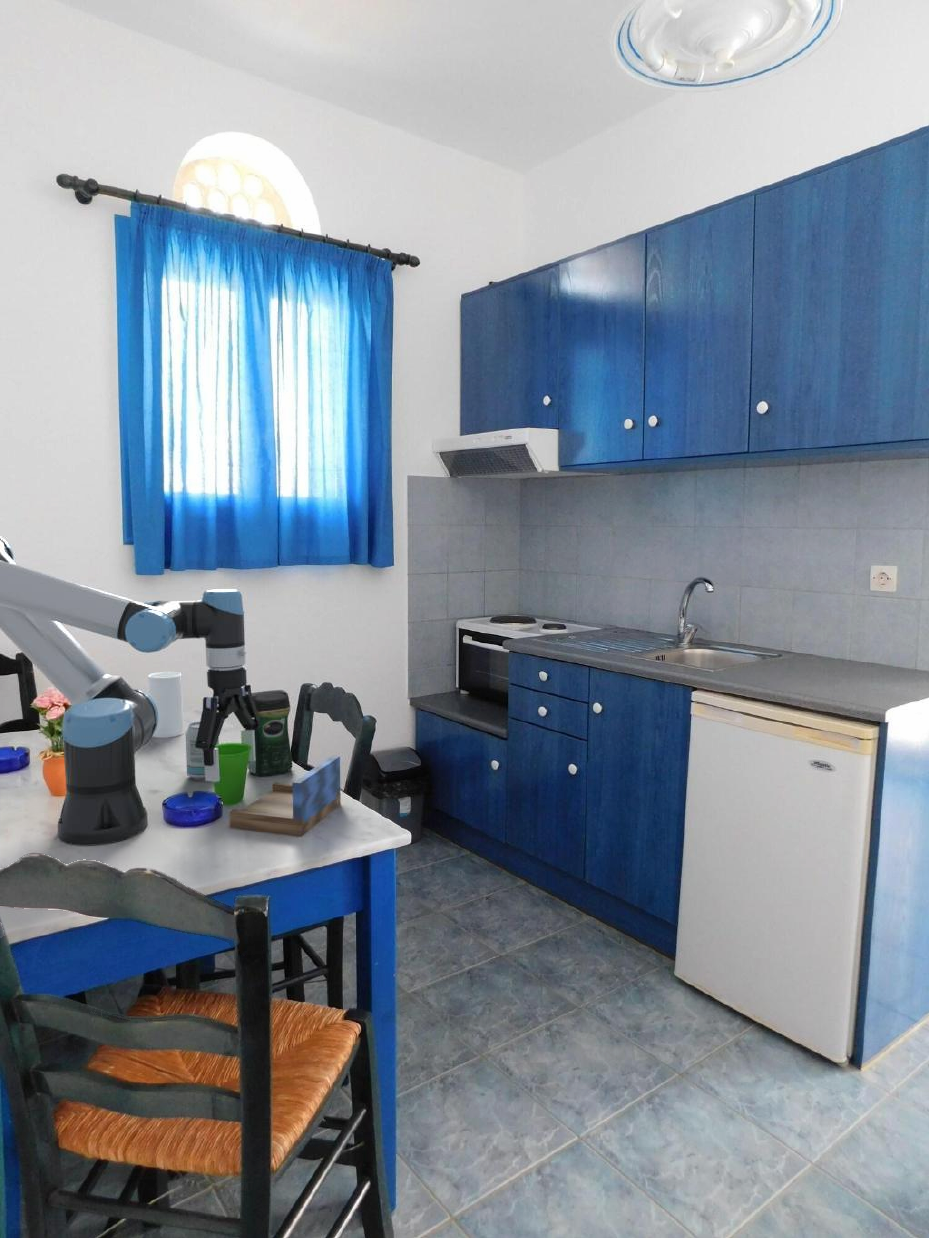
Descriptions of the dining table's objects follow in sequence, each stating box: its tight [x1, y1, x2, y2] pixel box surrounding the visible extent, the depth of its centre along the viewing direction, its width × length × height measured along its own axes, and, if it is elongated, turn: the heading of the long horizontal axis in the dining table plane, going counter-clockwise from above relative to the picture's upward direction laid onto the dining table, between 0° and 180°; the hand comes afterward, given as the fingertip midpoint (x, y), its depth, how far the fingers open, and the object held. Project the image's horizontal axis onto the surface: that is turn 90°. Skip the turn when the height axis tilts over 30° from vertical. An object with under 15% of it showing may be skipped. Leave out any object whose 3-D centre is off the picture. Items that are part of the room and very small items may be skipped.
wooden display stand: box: [229, 755, 342, 837], centre depth 156 cm, size 17×14×10 cm
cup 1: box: [147, 671, 184, 739], centre depth 214 cm, size 8×8×16 cm
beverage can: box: [185, 721, 220, 782], centre depth 178 cm, size 7×7×12 cm
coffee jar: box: [247, 689, 293, 777], centre depth 183 cm, size 10×8×19 cm
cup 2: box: [212, 742, 252, 806], centre depth 163 cm, size 9×9×11 cm
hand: (231, 770), depth 163 cm, fingers open, 13 cm apart
